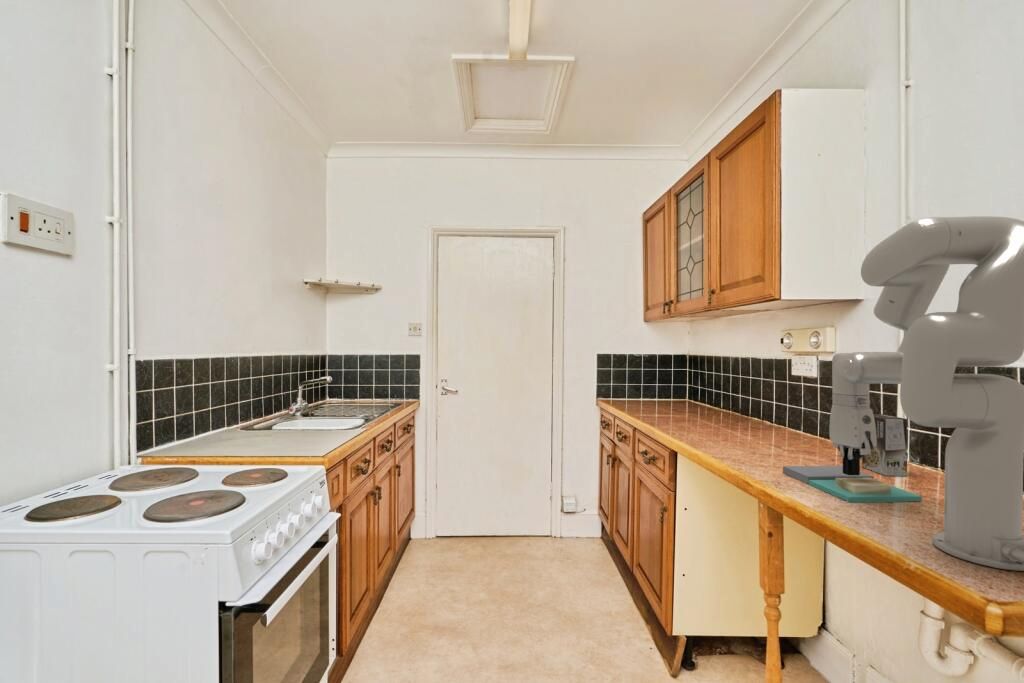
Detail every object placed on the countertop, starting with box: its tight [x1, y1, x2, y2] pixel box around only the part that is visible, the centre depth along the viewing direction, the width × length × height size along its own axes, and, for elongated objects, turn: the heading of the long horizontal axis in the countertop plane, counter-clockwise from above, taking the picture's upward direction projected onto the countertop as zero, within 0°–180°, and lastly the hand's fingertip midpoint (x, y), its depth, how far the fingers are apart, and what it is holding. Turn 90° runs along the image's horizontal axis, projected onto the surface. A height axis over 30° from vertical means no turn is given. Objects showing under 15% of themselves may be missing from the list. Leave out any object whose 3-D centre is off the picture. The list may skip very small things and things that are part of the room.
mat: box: [808, 480, 923, 503], centre depth 112 cm, size 13×18×1 cm
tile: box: [836, 478, 892, 494], centre depth 110 cm, size 6×9×2 cm, turn 93°
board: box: [782, 465, 874, 485], centre depth 124 cm, size 10×18×2 cm, turn 93°
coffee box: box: [861, 413, 909, 477], centre depth 131 cm, size 9×6×16 cm
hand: (851, 474), depth 114 cm, fingers closed
